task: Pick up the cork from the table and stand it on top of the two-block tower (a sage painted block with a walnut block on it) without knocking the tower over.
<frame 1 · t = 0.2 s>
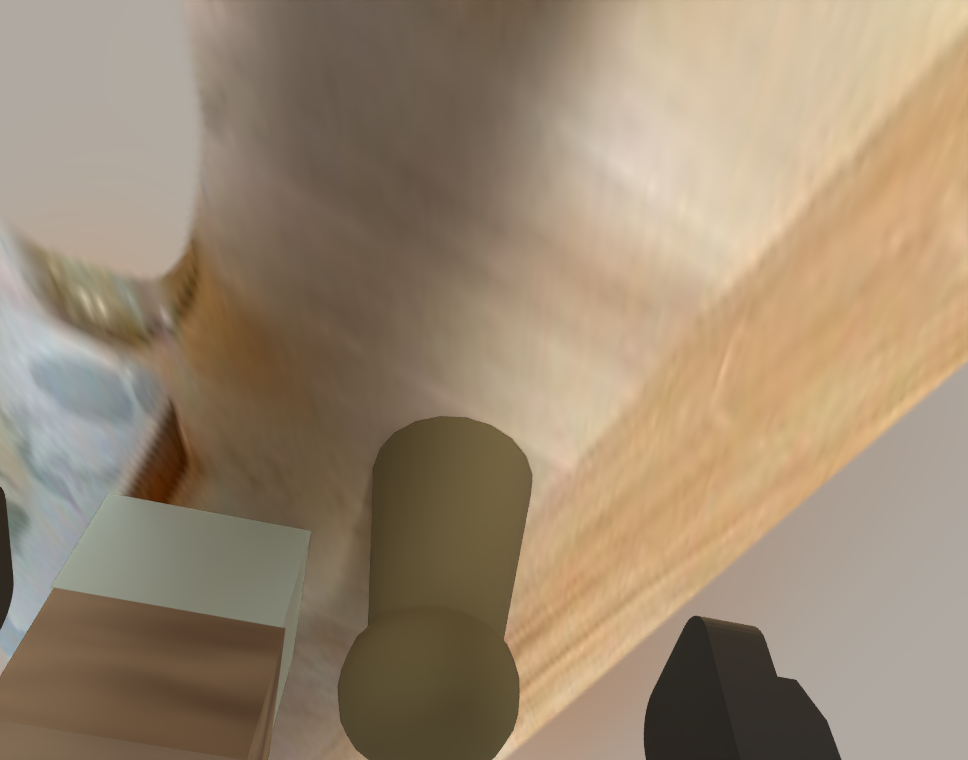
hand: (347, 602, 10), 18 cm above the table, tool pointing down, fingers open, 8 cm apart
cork: (453, 477, 32), on the table
tower top block: (170, 678, 32), point 5 cm above the table, touching tower base block
tower base block: (208, 577, 36), on the table, touching tower top block
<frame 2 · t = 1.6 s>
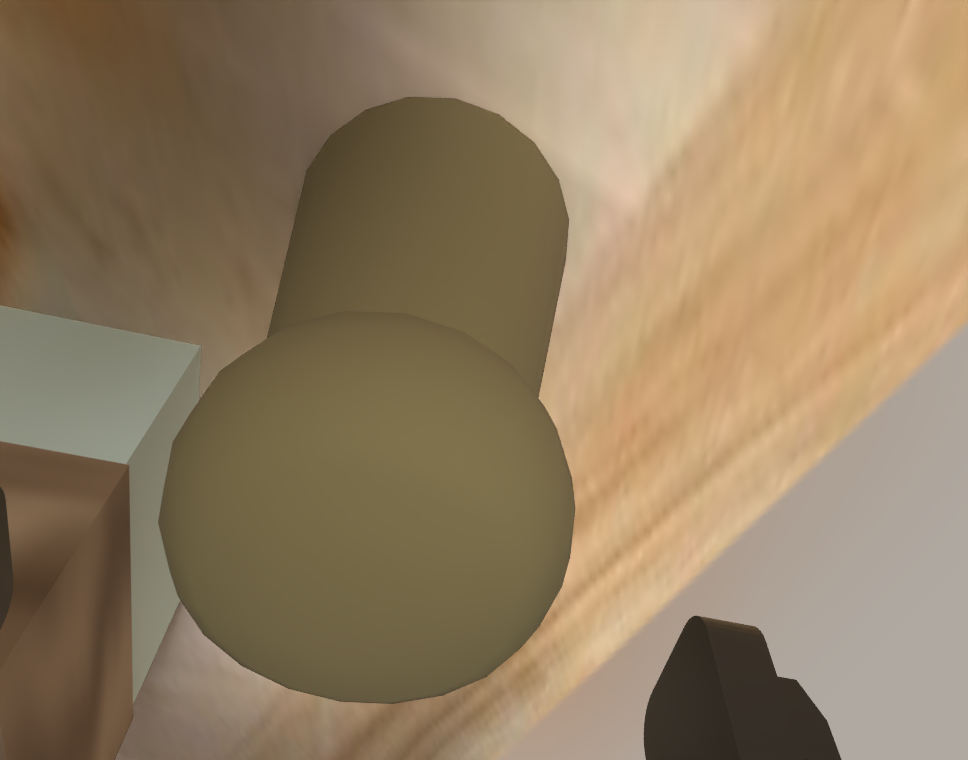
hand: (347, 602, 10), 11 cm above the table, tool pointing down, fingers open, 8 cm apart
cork: (433, 231, 19), on the table
tower base block: (46, 438, 22), on the table, touching tower top block
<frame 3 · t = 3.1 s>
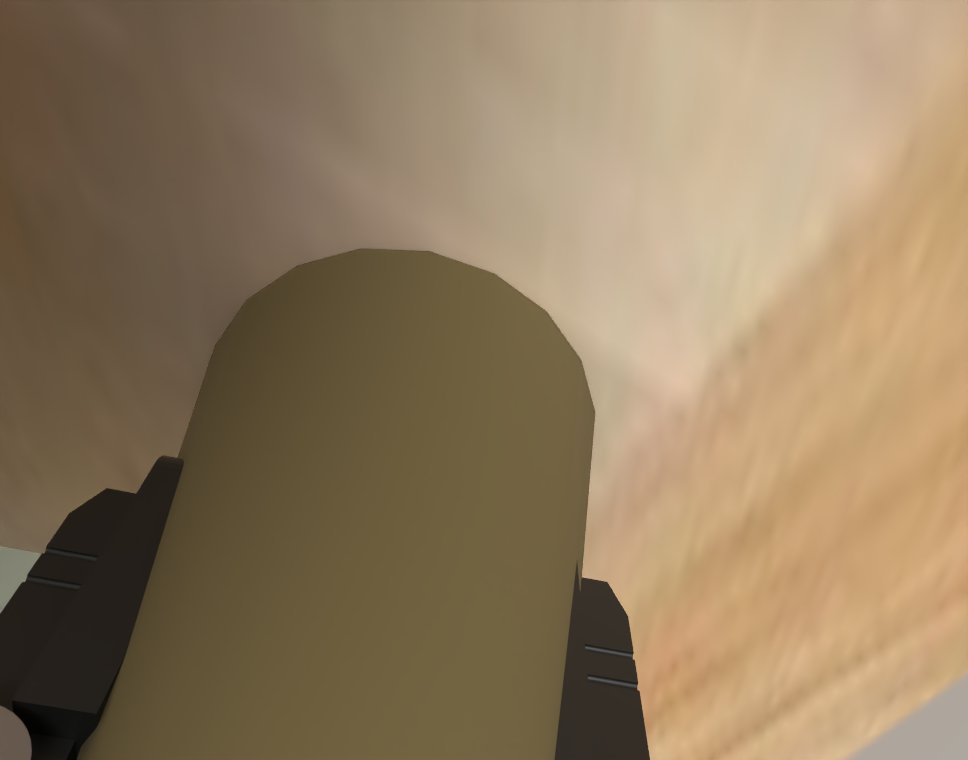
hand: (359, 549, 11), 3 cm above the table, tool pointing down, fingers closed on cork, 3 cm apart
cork: (401, 422, 13), on the table, touching gripper
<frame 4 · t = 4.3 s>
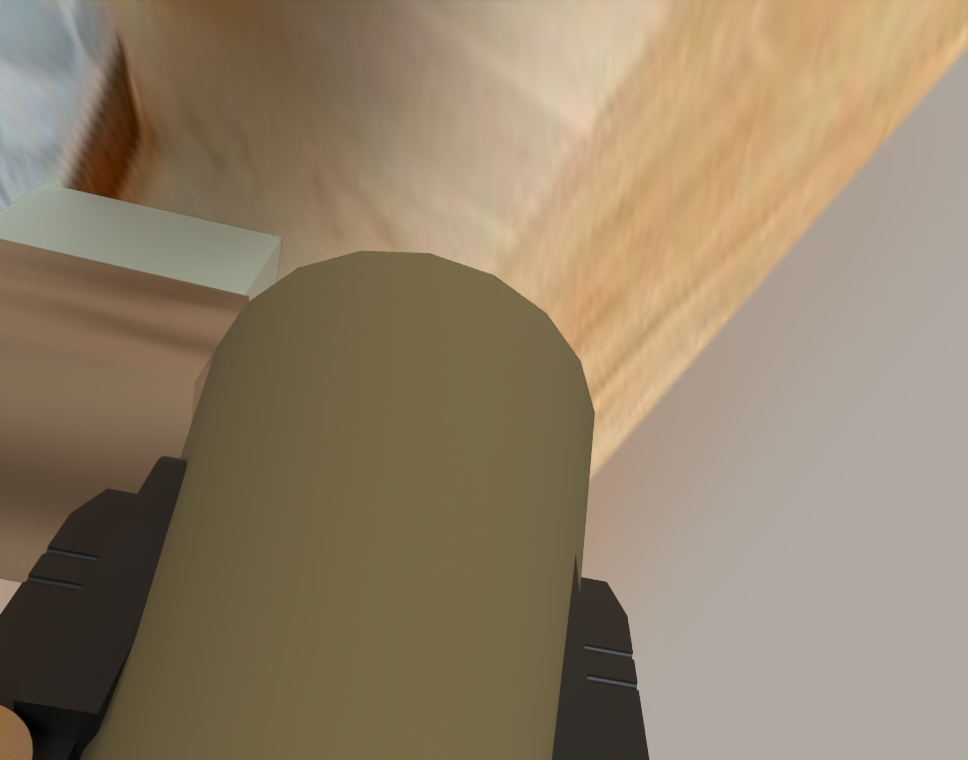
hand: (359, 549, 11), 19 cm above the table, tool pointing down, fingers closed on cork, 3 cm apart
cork: (401, 423, 13), point 16 cm above the table, touching gripper
tower top block: (108, 379, 26), point 5 cm above the table, touching tower base block
tower base block: (161, 312, 31), on the table, touching tower top block
when the fingers open (14 cm above the table, at t = 7.0 s): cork drops 1 cm, resting on tower top block.
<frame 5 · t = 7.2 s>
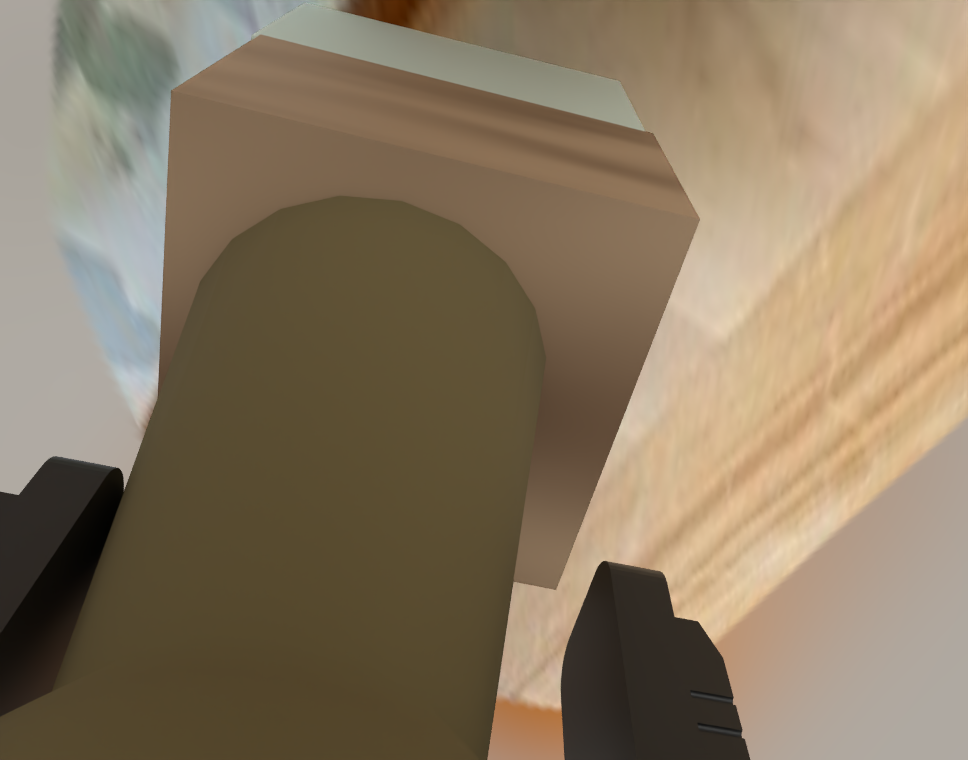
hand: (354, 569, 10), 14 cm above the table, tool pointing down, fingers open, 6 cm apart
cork: (369, 361, 14), point 10 cm above the table, touching tower top block
tower top block: (422, 265, 19), point 5 cm above the table, touching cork, tower base block
tower base block: (434, 192, 23), on the table, touching tower top block
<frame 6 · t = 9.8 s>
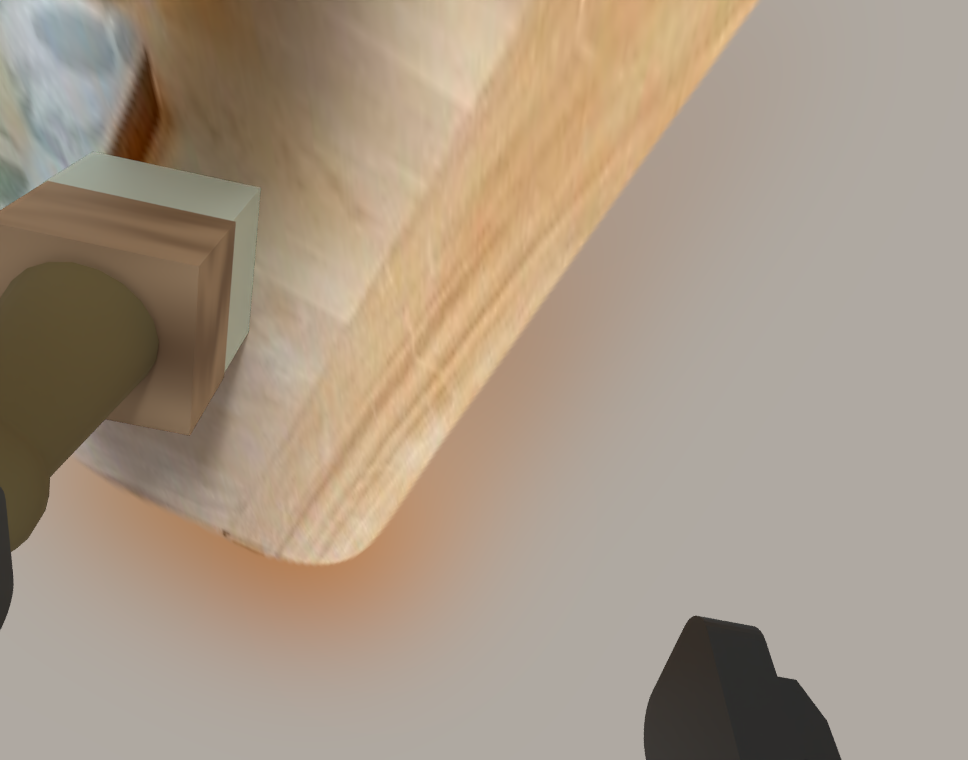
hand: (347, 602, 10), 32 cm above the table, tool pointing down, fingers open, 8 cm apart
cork: (83, 327, 34), point 10 cm above the table, touching tower top block
tower top block: (141, 284, 38), point 5 cm above the table, touching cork, tower base block
tower base block: (175, 245, 43), on the table, touching tower top block
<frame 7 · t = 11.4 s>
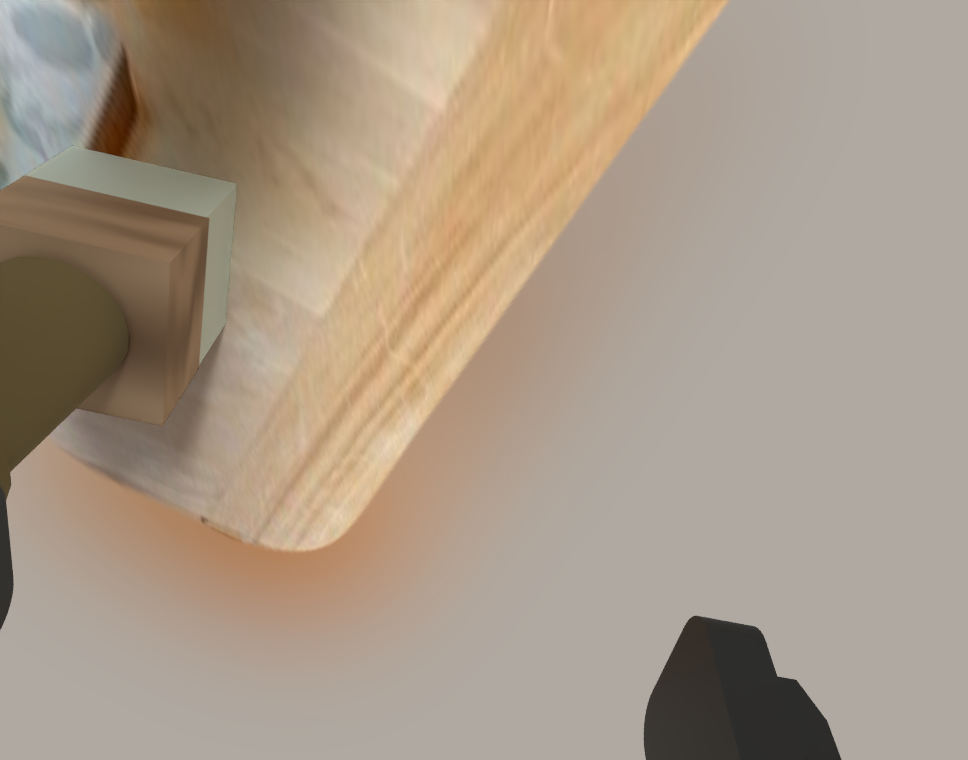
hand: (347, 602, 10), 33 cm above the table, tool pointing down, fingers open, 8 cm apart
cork: (56, 319, 34), point 10 cm above the table, touching tower top block
tower top block: (117, 278, 39), point 5 cm above the table, touching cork, tower base block
tower base block: (153, 238, 43), on the table, touching tower top block
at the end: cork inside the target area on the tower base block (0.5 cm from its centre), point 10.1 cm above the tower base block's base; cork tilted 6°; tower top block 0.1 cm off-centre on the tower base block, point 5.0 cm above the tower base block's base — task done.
